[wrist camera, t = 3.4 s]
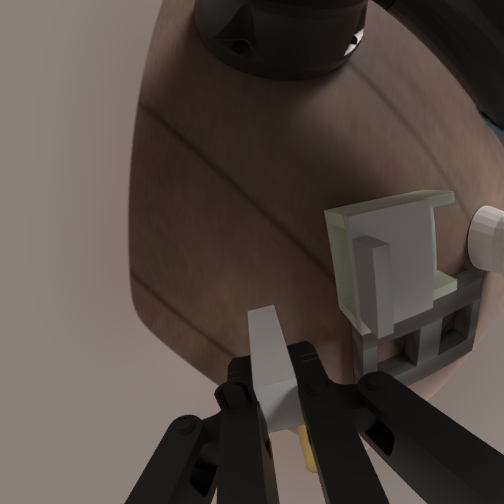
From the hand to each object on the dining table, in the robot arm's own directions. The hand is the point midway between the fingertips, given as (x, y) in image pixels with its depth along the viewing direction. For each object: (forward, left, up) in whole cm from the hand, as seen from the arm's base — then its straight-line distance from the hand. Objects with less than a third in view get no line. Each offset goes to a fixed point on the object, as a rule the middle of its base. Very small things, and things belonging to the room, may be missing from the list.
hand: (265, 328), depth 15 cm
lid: (0, +10, -4) cm, 11 cm away
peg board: (+10, +16, -8) cm, 20 cm away
